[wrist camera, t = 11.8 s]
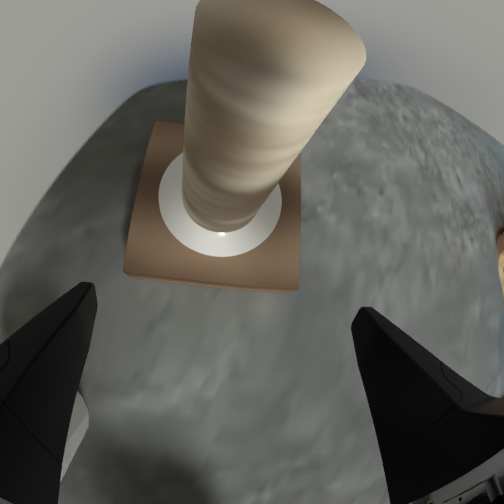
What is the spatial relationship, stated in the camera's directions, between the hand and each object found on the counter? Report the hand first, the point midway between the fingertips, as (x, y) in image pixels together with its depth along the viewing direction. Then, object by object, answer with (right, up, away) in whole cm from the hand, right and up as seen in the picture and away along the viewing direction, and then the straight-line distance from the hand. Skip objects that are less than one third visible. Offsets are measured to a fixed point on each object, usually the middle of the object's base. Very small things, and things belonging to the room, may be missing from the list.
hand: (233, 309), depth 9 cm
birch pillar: (-1, +5, +9) cm, 11 cm away
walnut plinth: (-2, +5, +13) cm, 14 cm away
